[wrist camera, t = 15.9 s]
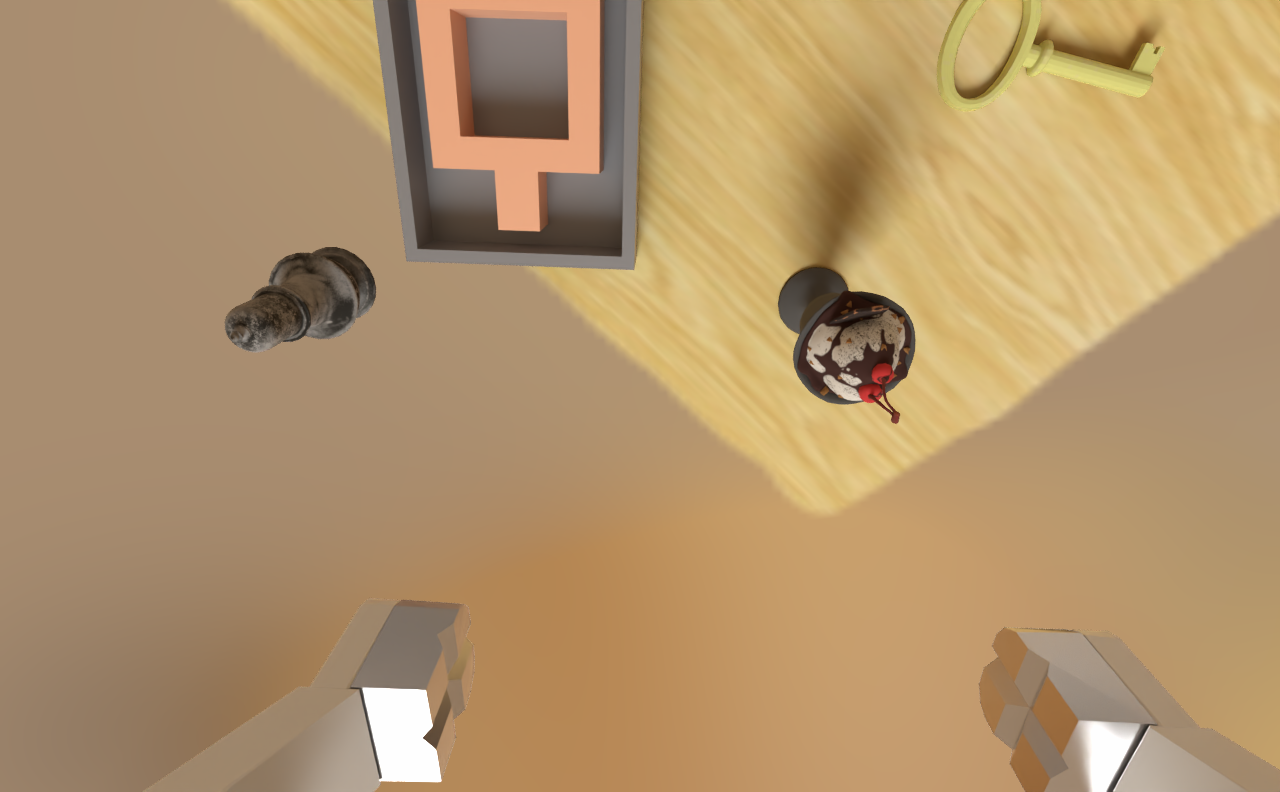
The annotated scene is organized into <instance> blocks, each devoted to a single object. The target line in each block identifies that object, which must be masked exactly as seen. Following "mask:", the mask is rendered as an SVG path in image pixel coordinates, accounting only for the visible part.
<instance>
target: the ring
mask: <svg viewBox="0 0 1280 792" xmlns="http://www.w3.org/2000/svg"><path fill="white" fill-rule="evenodd" d="M416 6H417V16H418V26H419V35H420V45H421V54H422V64H423V74H424V83H425V93H426V102H427V112H428V122H429V131H430V141H431V150H432V160H433V168H446V169H474V170H495V184H496V200H497V215H498V230H515V231H541V230H542V229H543V228H544V227H545V226H546V225H548V205H547V173H546V172H559V173H587V174H600V173H601V172H602V171H603V170H604V20H605V0H416ZM466 17H473V18H505V19H536V20H567V58H568V120H569V139H563V138H534V137H506V136H477V135H475V134H474V121H473V108H472V94H471V81H470V68H469V55H468V42H467V28H466Z"/></svg>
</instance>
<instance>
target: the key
mask: <svg viewBox="0 0 1280 792" xmlns="http://www.w3.org/2000/svg"><path fill="white" fill-rule="evenodd" d="M985 1H986V0H964V1H963V2H962V4H961V5H960V7H959V8H958V9H957V11H956V13H955V15H954V17H953V19H952V21H951V23H950V25H949V27H948V30H947V32H946V34H945V37H944V40H943V43H942V46H941V50H940V54H939V57H938V64H937V83H938V89H939V92H940V95H941V97H942V98H943V100H944V102H945V103H946V104H947V105H948V106H949V107H951V108H953V109H956V110H960V111H975V110H977V109H980V108H983V107H985V106H986V105H988V104H990V103H992V102H993V101H994V100H995V99H996V98H998V97H999V96H1000V95H1001V94H1002V93H1003V92H1004V91H1005V90H1006V89H1007V88H1008V86H1009V85H1010V84H1011V83H1012V81H1013V80H1014V79H1015V77H1016V75H1017V74H1018V72H1019V70H1020V69H1021V67H1022V66H1023V67H1027V70H1026V71H1027V75H1028V76H1031V77H1034V76H1036V75H1038V74H1039V73H1040V72H1041V71H1042V72H1045V73H1049V74H1053V75H1056V76H1060V77H1064V78H1067V79H1071V80H1075V81H1079V82H1082V83H1086V84H1090V85H1093V86H1097V87H1101V88H1104V89H1108V90H1112V91H1115V92H1119V93H1123V94H1126V95H1130V96H1134V97H1137V98H1139V97H1142V96H1143V95H1144V94H1145V93H1146V92H1147V91H1148V90H1149V88H1150V87H1151V84H1152V82H1153V77H1152V76H1150V75H1151V74H1152V72H1153V70H1154V68H1155V66H1156V64H1157V62H1158V61H1159V59H1160V57H1161V55H1162V53H1163V51H1164V50H1165V47H1162V46H1160V47H1156V48H1152V47H1153V45H1154V44H1150V43H1142V45H1141V47H1140V49H1139V51H1138V53H1137V55H1136V57H1135V59H1134V60H1133V62H1132V64H1131V66H1130V68H1129V70H1127V69H1123V68H1120V67H1116V66H1112V65H1109V64H1105V63H1101V62H1098V61H1094V60H1090V59H1087V58H1083V57H1079V56H1076V55H1072V54H1068V53H1065V52H1061V51H1057V50H1053V49H1054V44H1053V41H1051V40H1045V41H1043V42H1042V43H1040V44H1039V45H1035V44H1033V42H1034V39H1035V36H1036V33H1037V30H1038V26H1039V22H1040V17H1041V0H1022V1H1023V17H1022V23H1021V28H1020V31H1019V34H1018V38H1017V41H1016V43H1015V46H1014V48H1013V51H1012V53H1011V55H1010V57H1009V59H1008V61H1007V63H1006V65H1005V67H1004V68H1003V70H1002V72H1001V74H1000V75H999V77H998V78H997V79H996V81H995V82H994V83H993V84H992V86H991V87H990V88H989V89H988V90H986V91H985V92H984V93H983V94H982V95H980V96H979V97H976V98H969V99H968V98H962V97H961V96H960V95H959V94H958V92H957V90H956V88H955V84H954V64H955V60H956V55H957V51H958V47H959V45H960V42H961V39H962V37H963V35H964V32H965V30H966V28H967V26H968V24H969V23H970V21H971V19H972V18H973V16H974V15H975V13H976V11H977V10H978V9H979V8H980V7H981V5H982V4H983V3H984V2H985Z"/></svg>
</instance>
